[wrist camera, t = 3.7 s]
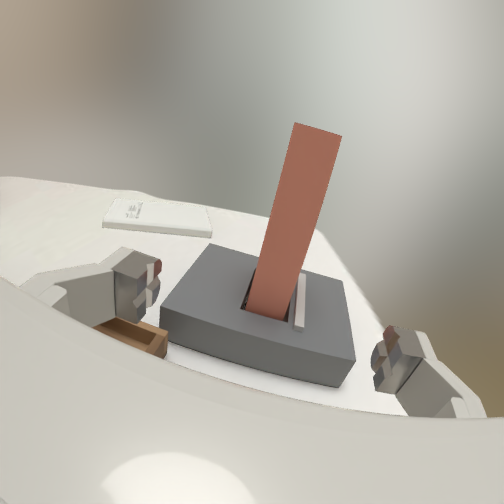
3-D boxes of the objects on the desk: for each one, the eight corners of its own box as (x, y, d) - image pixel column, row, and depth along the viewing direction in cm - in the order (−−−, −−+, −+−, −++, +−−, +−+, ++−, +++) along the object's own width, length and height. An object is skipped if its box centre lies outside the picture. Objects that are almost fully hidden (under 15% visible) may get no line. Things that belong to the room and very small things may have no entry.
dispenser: (158, 337, 18) (160, 300, 16) (205, 268, 27) (210, 239, 25) (338, 387, 17) (358, 356, 16) (332, 304, 26) (343, 277, 25)
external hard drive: (210, 243, 33) (101, 232, 29) (203, 216, 40) (115, 207, 36) (212, 230, 33) (102, 218, 29) (205, 205, 40) (115, 195, 36)
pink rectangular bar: (237, 336, 20) (294, 122, 14) (250, 298, 24) (297, 124, 18) (272, 346, 20) (341, 136, 14) (279, 306, 24) (332, 135, 18)
